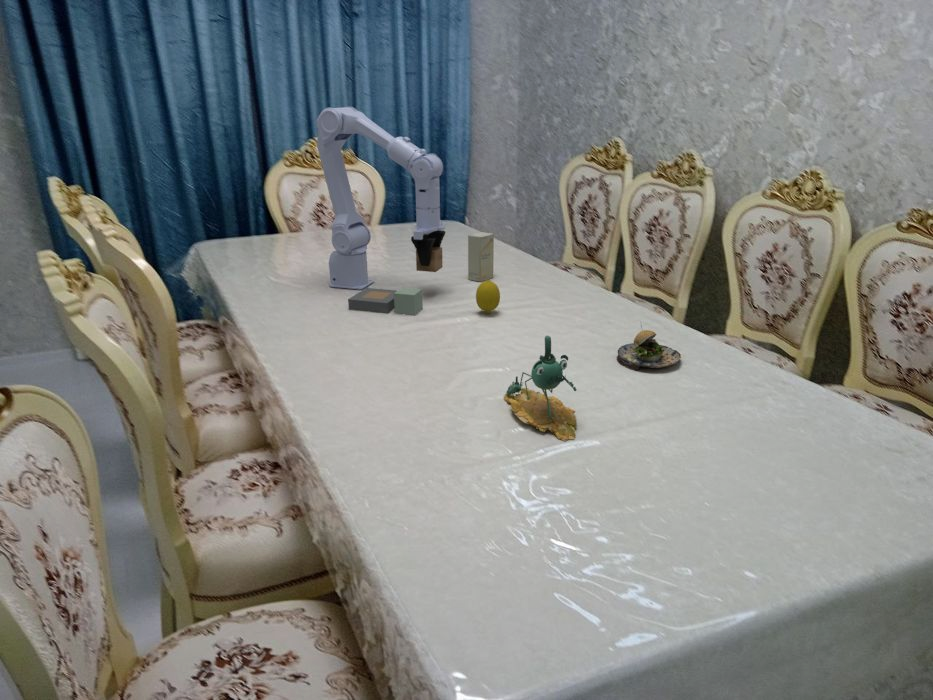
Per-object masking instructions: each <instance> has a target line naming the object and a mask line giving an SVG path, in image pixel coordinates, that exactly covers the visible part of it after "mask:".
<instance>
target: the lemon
mask: <svg viewBox="0 0 933 700" xmlns="http://www.w3.org/2000/svg"><path fill="white" fill-rule="evenodd" d="M475 300H476V304H477V306H478V308H479V310H480V309H481V310H482V311H484V312H485V314H490V313H491V312H492V311H494V310H496V308H498V306H499V304H500V302H501V301H500V300H501V292H500V289H499V287H498V285H497V284H496V283H495V282H493V281H491V280H490V279H487V280H484V281H482V282H481V283H480V284H479V285H478V286H477V289H476V293H475Z"/></svg>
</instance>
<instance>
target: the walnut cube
mask: <svg viewBox="0 0 933 700" xmlns="http://www.w3.org/2000/svg"><path fill="white" fill-rule="evenodd" d="M415 259H416V260H415V261H416V263H415V264H416V265H415V267H416V271H417V272H418V271H419V272H426V273H427V272H429V273H437V272H438V271H439V270H441V269H443V247H442V246H440V247H432V251H431V261H430V265H429V266H421V264H420V261H419V257H418V253H417V250H416V249H415Z"/></svg>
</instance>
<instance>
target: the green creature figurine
mask: <svg viewBox="0 0 933 700" xmlns="http://www.w3.org/2000/svg"><path fill="white" fill-rule="evenodd" d="M568 361H569V357H568V356H567V355H566V354H562V355H560V361H557V358H556V357H555V355H554V353H552V338H551V336H549V335H545V336H544V355H541V354H540V355H539V359H538V360H537V361H536V362H535V363H534V365H533V366H532V369H531V374H529V373H527V372H522V373H521V376H520V377H521V378H520V382H519V381H518V380H519V379H518V378H519V377H518V376H515V381H512V384H510V385H508V388H507V390H506V393H505V394H504V396H503V400H504V401H506V402H507V403H508V404H510V405H509V408H510V409H511V410H512V412H513V414H514V415H515V416H516V417H517V418H518V419H519V420H520V421H521V422H522V423H524V424H525V425H531V427H533V428H535V429H536V430H539V432H543V433H546V431H547V430H548V431H550V432H551V433H553V434H555V437H556V438H557V439H559V440H562V441H564V442H567V441H568V440H575V438H576V433H575V428H576V427H578V426H577V425H578V424H577V419H576V415H575V413H576V410H574V409H571V408H570V407H567V406H566V405H564V403H563V401H561V400H560V399H559V398H558V397H556V396H550V395H548V393H547V391H549V392H550V393H551V394H553V390H554V389H556V388H557V387H558V386H559V385H560V384H561V383H562V382H566V383H567V384H568V385H569V386H570V387H571V388H572V389H573V391H574V392H576V391H577V387H576V386H574V383H573V382H572V381H569V380H568V379H567V378H566V376H567V375H566V374H565V375H563V374H564V373H563V370H565V369H566V368H567V367H568ZM524 375H526V376H528V377H530V378H527V380H525V381H524V382H522V381H523V377H524ZM530 380H532V382H533V384H534V385H535V386H536V387H537V388H539V389H541V390H542V393H543V394H542V393H541V392H540V391H536V390H535V389H534V390H533V389H530V388H529V387H527V382H529V381H530ZM523 384H524V385H525V388H524V387H523Z"/></svg>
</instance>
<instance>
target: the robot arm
mask: <svg viewBox="0 0 933 700" xmlns="http://www.w3.org/2000/svg"><path fill="white" fill-rule="evenodd" d="M315 123H316V127H317V130H318V131H317V140H316V148H317V153H318V156H319V159H320V162H321V167H322V170H323V175H324V179H325V182H326V186H327V190H328V193H329V197H330V202H331V204H332V209H333V212H334V216H335V217H334V219H333V221H332V223H331V226H330V228H331V233H332V234H331V235H332V236H331V245H332V247H333V248H334V250H332V252H331V253H330V255H329V257H328V258H329V259H328V270H329V280H330V282H329V283H330V284H329V285H328V286H329V287H330V288H338V289H339V288H341V289H350V290H351V289H352V290H361V291H362V290H364V289H366V288H368V287H369V286H371V285H372V284H373V283H374V282H375V280H374V279H369V276H368V275H369V273H368V272H369V270H368V257H367V254H368V253H367V249H368V247H367V246H368V245H369V244H370V242H371V238H372V235H371V232H370V228H368V226H367V225H366V223H365V219H364V217H363V215H361V214H359V213H358V211H357V209H356V208H357V207H356V204H355V202H354V201H355V200H354V197H353V192H352V188H351V185H350V181H349V177H348V173H347V169H346V165H345V162H344V156H343V153H342V148H343V146H344V145H345V144H346V142H347V140H348V139H349V138H351V137H352V136H353V135H354V134H358V135H361V136H362V137H364V138H365V139H367V140H370V141H371V142H373V143H374V144H376V145H377V146H379V147H381V148H383V149H384V150H386V153H387V156H388V158H389V159H390V160H392V161H394V162H395V163H397V165H399V166H402V168H404V169H405V170H407V171H408V172H410V175H411V177H412V179H414V186H415V212H416V213H415V214H416V215H415V216H416V218H415V220H416V221H415V223H416V225H415V229H414V230H413V236H411V237H410V238H411V243H412V244H413V246H414V248H415V251H416V250H417V253H418V257H419V261H420V264H421V266H429V265H430V261H431V251H432V247H442V242H443V239H444V237H445V236H446V231H445V228H446V226H445V225H443V220H441V201H440V200H441V199H440V198H441V196H440V195H441V193H440V192H441V191H440V190H441V189H440V176H441V175H442V174H443V171H444V164H443V162H442V161H443V160H442V159H441V158H440V157H439V156H438V155H437V154H436V153H427V150H426V149H425V148H419V147H418V146H416V145H415V144H414V143H412V142H411V138H410V137H408V136H404V137H403V136H397V137H394V136H393V135H392V134H390V133H389V132H388V131H386V130H385V129H383V127H380V126H379V125H378V124H377V123H375V122H374V121H373V120H371V119H370V118H368V117H367V116H366V115H365V113H364V112H362V111H360V110H358V109H356V108H355V107H354V106H345V107H344V106H343V107H325V108H324V109H323V110H322V111H321V112H320V114H319V115H318V117H317V118H316V121H315Z"/></svg>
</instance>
